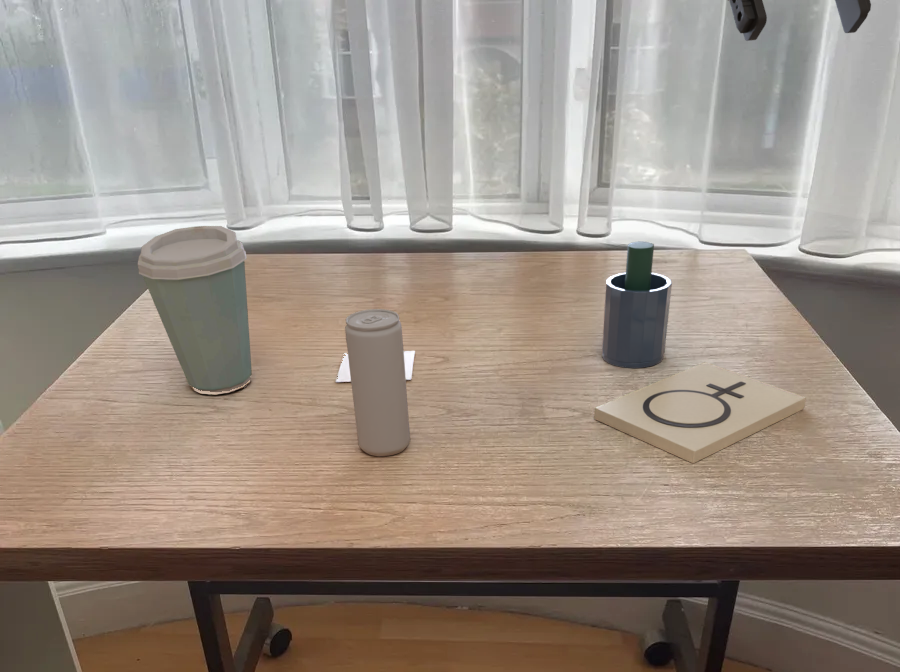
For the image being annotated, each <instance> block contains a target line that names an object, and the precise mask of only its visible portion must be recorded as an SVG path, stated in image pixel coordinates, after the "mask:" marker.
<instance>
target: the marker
mask: <svg viewBox="0 0 900 672" xmlns="http://www.w3.org/2000/svg"><path fill="white" fill-rule="evenodd" d="M626 250H627V251H626V262H625V263H626V265H625V273H626V277H625V290H632V291H647V290H650V285H651V274H652V273H653V261H654V252H655V251H654V250H655V244H654V243H652V242H651V241H650V242H649V241H639V240H638V241H632V242H630V243H628V244H627V249H626Z"/></svg>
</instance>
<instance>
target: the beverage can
mask: <svg viewBox="0 0 900 672" xmlns="http://www.w3.org/2000/svg"><path fill="white" fill-rule="evenodd" d="M345 324H346V325H345V327H344V331H345V332H344V334H345V340H346V341H345V342H346V349H347V350H346V351H347V353H348V359H349V368H350V376H351V381H350V384H351V393H352V400H353V407H354V408H353V409H354V416H355V418H354V419H355V427H356V436H357V444H358V446H359V448H360V449H361V450H362V451H363V452H364V453H366V454H367V455H370V456H373V457H389V456H393V455H394V456H395V455H397V454H400V453H402V452H403V451H404V450H405V449H406V448H407V447H408V446H409V444H410V442H411V431H410V418H409V405H408V404H409V403H408V391H407V390H408V389H407V380H406V376H405V363H404V351H405V350H404V337H403V327H402V321H400V315H399V314H398V312H397V311H394V310H391V309H385V308H369V309H368V308H367V309H363V310H359V311H355V312H353V313H350V314H349V315H348V316H347V317H346V318H345Z"/></svg>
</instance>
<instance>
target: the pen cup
mask: <svg viewBox="0 0 900 672" xmlns="http://www.w3.org/2000/svg"><path fill="white" fill-rule="evenodd" d="M625 277H626V272H619V273H617V274H613V275H611V276H609V277H608V278H607V279H606V280H605V294H604V309H603V310H604V311H603V324H602V325H603V327H602V342H601V359H602V360H603V361H604V362H606V363H607V364H610V365H612V366H615V367H619V368H624V369H625V368H626V369H643V368H650V367H653V366H656V365H658V364H660V363H661V362H663V360H664V358H665V353H666V352H665V351H666V344H667V343H666V342H667V335H668V324H669V314H670V306H671V298H672V297H671V294H672V286H673V283H672V279H671V278H670V277H667V276H666V275H663V274H660V273H656V272H652V274H651V285H650V290H647V291H632V290H625Z"/></svg>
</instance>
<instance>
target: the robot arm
mask: <svg viewBox="0 0 900 672" xmlns="http://www.w3.org/2000/svg"><path fill="white" fill-rule="evenodd" d="M727 1H728V2H729V4H730V5H729V6H730V9H731V12H732V16H733V20H734V23H735V27H736V29H737V31H738V32H739V34H743V38H744V41H746V42H748V41H756V40H758V38H759V36H760V34H761V33H762V32H763V29H764V28H765V27H766V24H767V19H768V17H767V12H766V8H765V5H764V2H763V0H727ZM834 2H835V5H836V9H837V13H838V15H839V20H840V22H841V23H840V24H841V26H842V30H843V32H844V34H854V33H856V32H857V31H858V30H859V28H861V26H862V25H863V23H864V22H865V21H866V19H867V17H868V16H869V13H870V12H871V9H872V3H871V0H834Z"/></svg>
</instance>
